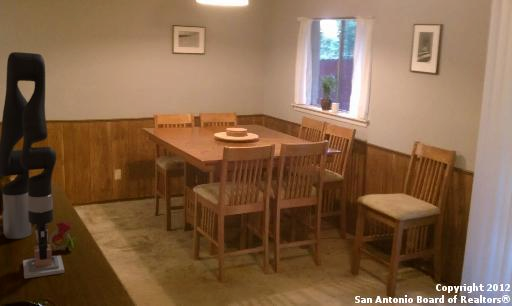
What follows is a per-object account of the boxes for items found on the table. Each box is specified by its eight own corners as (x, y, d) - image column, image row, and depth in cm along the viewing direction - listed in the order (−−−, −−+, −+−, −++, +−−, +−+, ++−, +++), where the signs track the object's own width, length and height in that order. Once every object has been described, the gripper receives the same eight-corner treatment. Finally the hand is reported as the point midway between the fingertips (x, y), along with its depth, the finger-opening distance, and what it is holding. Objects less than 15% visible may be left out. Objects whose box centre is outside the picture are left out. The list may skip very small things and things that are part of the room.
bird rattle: (56, 259, 182) (80, 247, 184) (41, 233, 179) (66, 221, 181) (57, 252, 188) (80, 241, 190) (42, 227, 184) (67, 216, 186)
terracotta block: (34, 262, 171) (33, 246, 170) (50, 260, 173) (50, 244, 172) (35, 268, 167) (34, 251, 165) (52, 266, 169) (51, 249, 168)
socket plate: (23, 263, 173) (22, 258, 172) (60, 258, 178) (60, 253, 178) (24, 278, 162) (24, 272, 162) (64, 272, 167) (64, 267, 167)
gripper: (27, 202, 170) (29, 247, 174) (28, 215, 158) (31, 264, 161) (51, 200, 174) (52, 244, 177) (54, 213, 161) (56, 261, 164)
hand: (42, 254), depth 169 cm, fingers open, 8 cm apart
